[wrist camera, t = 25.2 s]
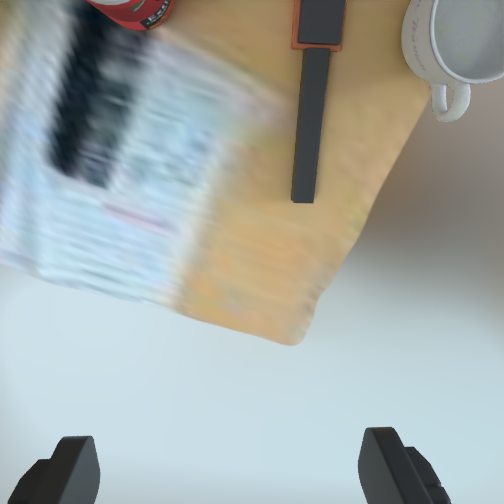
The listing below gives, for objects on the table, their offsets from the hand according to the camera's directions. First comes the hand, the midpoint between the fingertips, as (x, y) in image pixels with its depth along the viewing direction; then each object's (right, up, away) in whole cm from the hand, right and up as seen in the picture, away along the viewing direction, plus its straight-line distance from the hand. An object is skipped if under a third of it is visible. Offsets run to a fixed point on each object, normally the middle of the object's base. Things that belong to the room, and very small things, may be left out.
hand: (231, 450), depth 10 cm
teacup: (+20, +28, +27) cm, 44 cm away
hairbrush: (+7, +23, +28) cm, 37 cm away
